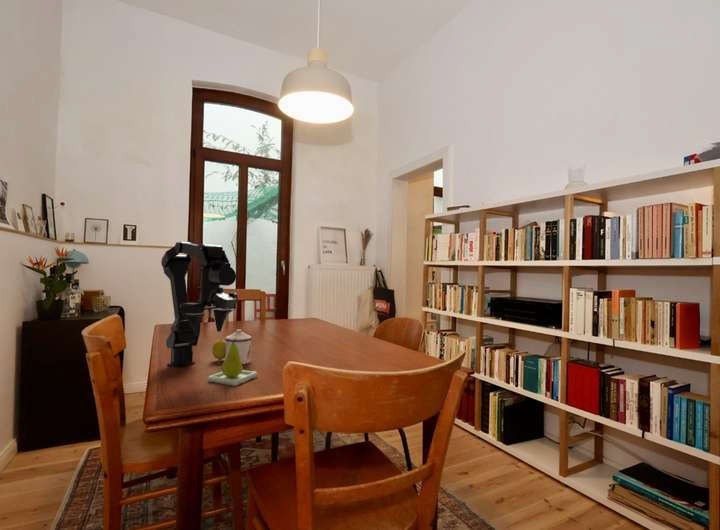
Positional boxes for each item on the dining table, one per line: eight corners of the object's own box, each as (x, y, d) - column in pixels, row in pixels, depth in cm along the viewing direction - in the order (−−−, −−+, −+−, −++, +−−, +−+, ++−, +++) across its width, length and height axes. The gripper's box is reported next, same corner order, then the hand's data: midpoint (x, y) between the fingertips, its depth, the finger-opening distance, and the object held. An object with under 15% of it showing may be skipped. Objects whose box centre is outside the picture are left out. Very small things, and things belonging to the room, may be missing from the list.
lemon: (222, 363, 131) (223, 340, 131) (208, 361, 132) (209, 339, 132) (231, 359, 137) (231, 337, 137) (217, 358, 138) (218, 336, 138)
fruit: (219, 375, 114) (220, 336, 114) (239, 373, 117) (240, 335, 117) (223, 381, 108) (225, 340, 109) (245, 378, 112) (246, 338, 112)
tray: (208, 381, 110) (208, 376, 110) (231, 372, 119) (231, 368, 119) (235, 385, 106) (235, 380, 106) (256, 376, 116) (257, 372, 116)
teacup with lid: (253, 364, 131) (254, 331, 131) (226, 366, 127) (227, 332, 127) (246, 356, 142) (247, 326, 142) (221, 358, 137) (222, 327, 138)
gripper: (208, 286, 105) (207, 341, 105) (249, 284, 123) (248, 331, 122) (178, 284, 109) (177, 337, 109) (222, 283, 126) (221, 328, 126)
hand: (208, 333), depth 116 cm, fingers open, 9 cm apart
